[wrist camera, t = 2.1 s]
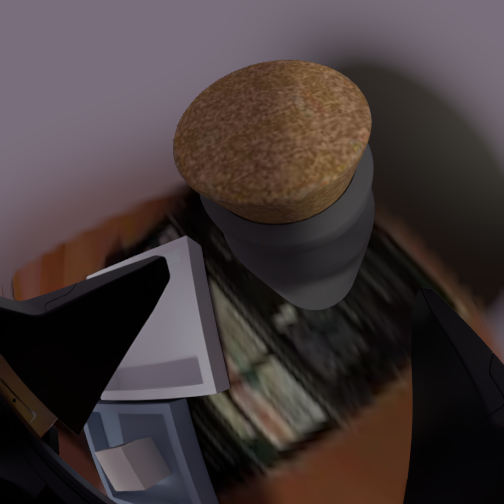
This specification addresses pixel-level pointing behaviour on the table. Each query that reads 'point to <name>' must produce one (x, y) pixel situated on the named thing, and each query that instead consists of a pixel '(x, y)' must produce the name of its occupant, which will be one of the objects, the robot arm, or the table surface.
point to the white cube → (133, 465)
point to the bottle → (285, 174)
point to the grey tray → (173, 335)
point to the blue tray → (166, 440)
